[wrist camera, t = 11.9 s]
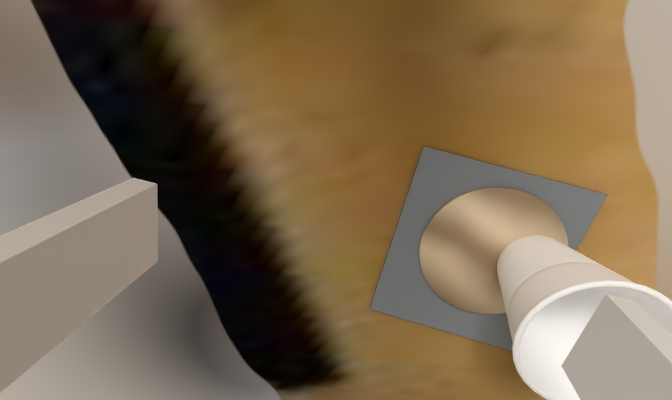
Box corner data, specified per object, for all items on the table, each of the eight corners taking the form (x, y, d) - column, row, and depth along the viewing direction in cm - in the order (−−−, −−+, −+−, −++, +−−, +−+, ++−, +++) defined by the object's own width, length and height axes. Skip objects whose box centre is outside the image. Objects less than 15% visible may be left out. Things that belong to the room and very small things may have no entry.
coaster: (445, 170, 31) (446, 171, 30) (592, 209, 30) (596, 211, 29) (402, 288, 35) (402, 292, 35) (528, 325, 34) (530, 329, 34)
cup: (596, 299, 32) (694, 403, 22) (484, 316, 34) (525, 417, 24) (585, 201, 29) (691, 267, 19) (465, 227, 32) (501, 297, 21)
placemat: (423, 145, 31) (423, 146, 30) (604, 193, 30) (607, 195, 29) (369, 306, 37) (369, 308, 37) (517, 350, 36) (518, 353, 36)
